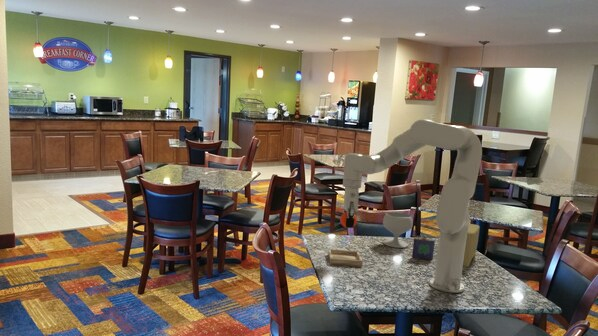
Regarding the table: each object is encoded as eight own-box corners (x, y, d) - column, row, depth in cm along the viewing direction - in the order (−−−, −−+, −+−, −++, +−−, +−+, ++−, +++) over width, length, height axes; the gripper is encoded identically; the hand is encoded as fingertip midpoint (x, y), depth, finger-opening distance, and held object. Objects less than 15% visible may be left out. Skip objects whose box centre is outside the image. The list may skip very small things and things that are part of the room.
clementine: (357, 231, 190) (358, 214, 190) (340, 230, 191) (341, 213, 190) (355, 226, 198) (356, 210, 197) (338, 225, 198) (340, 208, 198)
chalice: (405, 251, 217) (408, 219, 215) (376, 244, 224) (379, 214, 222) (413, 244, 229) (417, 214, 227) (386, 238, 236) (389, 209, 234)
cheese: (478, 269, 199) (482, 235, 197) (454, 265, 202) (458, 231, 200) (475, 255, 220) (479, 224, 218) (454, 251, 223) (458, 221, 221)
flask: (432, 258, 209) (434, 235, 208) (433, 260, 206) (436, 237, 205) (411, 256, 209) (413, 233, 208) (412, 258, 207) (415, 235, 205)
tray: (362, 267, 190) (362, 261, 190) (330, 264, 190) (330, 258, 189) (357, 256, 203) (358, 251, 203) (328, 254, 203) (328, 249, 202)
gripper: (364, 187, 184) (360, 230, 186) (358, 180, 201) (354, 220, 203) (345, 186, 183) (341, 229, 186) (340, 179, 201) (337, 219, 203)
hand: (348, 224), depth 194 cm, fingers closed on clementine, 8 cm apart
